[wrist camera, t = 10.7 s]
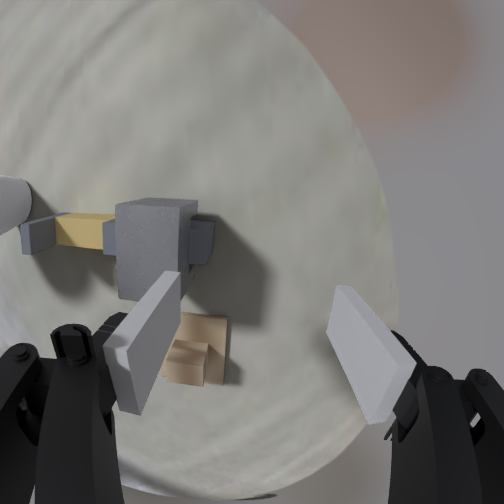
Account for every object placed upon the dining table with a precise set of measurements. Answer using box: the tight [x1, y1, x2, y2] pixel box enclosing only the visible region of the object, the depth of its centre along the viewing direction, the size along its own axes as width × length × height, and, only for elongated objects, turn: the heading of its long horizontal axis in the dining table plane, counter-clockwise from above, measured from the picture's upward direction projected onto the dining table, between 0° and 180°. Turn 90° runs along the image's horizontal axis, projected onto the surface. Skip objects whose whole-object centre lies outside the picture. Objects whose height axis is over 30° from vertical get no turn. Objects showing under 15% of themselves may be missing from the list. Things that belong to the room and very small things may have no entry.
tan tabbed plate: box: [162, 312, 227, 387], centre depth 29 cm, size 8×10×5 cm
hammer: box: [20, 213, 215, 265], centre depth 23 cm, size 19×3×8 cm, turn 85°
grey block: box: [115, 198, 198, 302], centre depth 22 cm, size 5×7×7 cm
